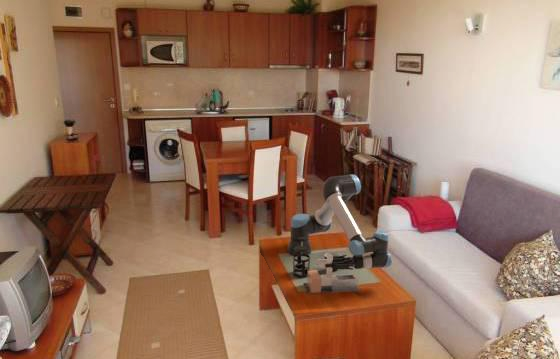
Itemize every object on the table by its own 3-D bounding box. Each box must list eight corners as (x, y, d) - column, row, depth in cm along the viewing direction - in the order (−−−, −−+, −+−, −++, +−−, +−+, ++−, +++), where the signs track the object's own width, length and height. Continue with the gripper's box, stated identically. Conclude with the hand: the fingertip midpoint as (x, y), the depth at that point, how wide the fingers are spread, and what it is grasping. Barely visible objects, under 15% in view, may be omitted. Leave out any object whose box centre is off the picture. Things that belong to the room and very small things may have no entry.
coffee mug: (338, 275, 251) (339, 259, 248) (323, 274, 252) (323, 257, 250) (340, 267, 262) (340, 251, 259) (325, 265, 263) (325, 249, 261)
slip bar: (312, 282, 235) (313, 254, 231) (335, 281, 237) (336, 253, 233) (314, 286, 231) (315, 257, 227) (337, 285, 233) (338, 256, 229)
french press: (311, 280, 245) (313, 241, 239) (295, 282, 243) (295, 242, 237) (306, 271, 256) (307, 233, 250) (290, 272, 254) (290, 234, 249)
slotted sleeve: (303, 285, 239) (303, 274, 237) (352, 282, 243) (352, 271, 241) (307, 296, 227) (308, 285, 226) (359, 293, 231) (359, 281, 230)
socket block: (307, 283, 238) (307, 270, 236) (316, 283, 238) (316, 269, 237) (311, 292, 228) (311, 279, 226) (320, 292, 229) (321, 278, 227)
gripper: (366, 274, 227) (321, 277, 223) (356, 261, 242) (314, 264, 239) (367, 260, 225) (321, 263, 222) (357, 248, 241) (314, 250, 237)
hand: (317, 263), depth 230 cm, fingers closed on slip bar, 3 cm apart
